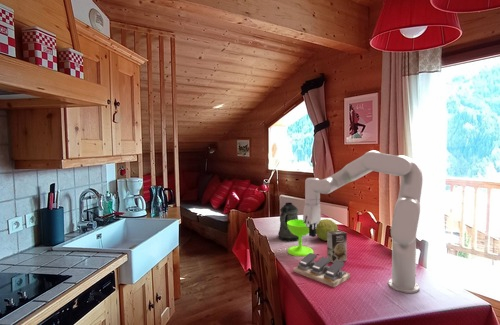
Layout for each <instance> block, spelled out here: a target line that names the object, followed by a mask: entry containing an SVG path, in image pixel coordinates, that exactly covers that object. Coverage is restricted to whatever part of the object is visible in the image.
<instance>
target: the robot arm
mask: <svg viewBox="0 0 500 325" xmlns="http://www.w3.org/2000/svg"><path fill="white" fill-rule="evenodd" d="M371 172H377V173H381V174H386V175H391V176H396V177H400V184H399V192H398V197H397V200H396V202H395V205H394V210H393V215H392V222H391V226H390V236H391V239H392V241H391V243H392V244H391V247H392V248H391V278H390V279H389V280H388V283H387V284H388V286H389V287H390V288H391V289H392V290H394V291H397V292H400V293H404V294H405V293H407V294H414V293H417V292H419V291H420V285H419V284H418V283H417V282H416V277H417V274H416V273H417V271H416V269H417V267H416V265H417V264H416V260H417V259H416V258H417V256H416V255H417V233H418V232H417V230H418V226H419V219H420V213H421V196H422V188H423V181H424V180H423V173H422V170H421V168H420V166H419V165H418V164H417V162H416V161H414V159H412V158H411V157H409V156H406V155H403V154H401V155H395V154H394V155H393V154H388V153H383V152H380V151H378V150H370V151H367V152H365V153H364V154H363V155H361V156H360V157H358V158H356V159H354V160H352V161H350V162H349V163H347V164H346V165H344V167H343V168H341V169H340V170H338V171H337V172H335V173H333V174H332V175H330V176H328V177H325V178H322V179H319V178H318V177H307V178H306V179H305V182H304V184H305V185H304V189H305V190H304V196H305V199H304V200H305V201H304V206H303V214H302V220H303V223H306V225H305V226H306V227H308V228H309V233H308V235H309V237H313V238H315V237H317V234H316V228H317V224H318V223H319V221H320V220H322V213H321V212H322V211H321V210H322V209H321V194H323V195H328V194H330V193H332V192H334V191H336V190H338V189H339V188H341V187H343V186H346V185H347V184H349V183H351V182H354V181H356V180H359V179H360V178H362V177H364V176H366V175H367V174H369V173H371Z"/></svg>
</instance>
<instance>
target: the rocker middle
mask: <svg viewBox="0 0 500 325" xmlns="http://www.w3.org/2000/svg"><path fill="white" fill-rule="evenodd" d="M315 262H316V263H315V264H314V265H313V266H312V267H311V268H312V269H313V270H316V271H319V272H320V271H321V270H322V269H323V268H324V267H325V266H326V265H327V266H328V265H329V263H330V262H331V261H330V259H328V258H327V257H325V256H322V257H320V258H319V259H318V260H317V261H315Z"/></svg>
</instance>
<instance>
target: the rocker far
mask: <svg viewBox="0 0 500 325" xmlns="http://www.w3.org/2000/svg"><path fill="white" fill-rule="evenodd" d="M317 258H318V254H315V253H309V254H308V255H307V256H303V258H302V259H301V260H300V261H299V262H298V265H302V266H305V267H307V266H308V265H309V264H310V263H311V262H312V261H315V260H316V259H317Z"/></svg>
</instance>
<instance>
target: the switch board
mask: <svg viewBox="0 0 500 325" xmlns="http://www.w3.org/2000/svg"><path fill="white" fill-rule="evenodd" d="M316 262H317V261H315V260H313V261H312V262H311V263H310V264H309V265H308V266H307V267H305V266H302V265H299V264H297V266H294V267H293V272H294V273H297V274H299V275H301V276H304V277H307V278H309V279H311V280H314V281H317V282H320V283H322V284H325V285H327V286H330V287H333V288H336V287H337V286H339V285H341V284H342V283H344V282H345V281H348V280H349V279H350V278H351V273H349V272H347V271H345V270H342V269H341V270H340V271H339V272H338V273H337V275H336V276H335V277H334V278H333V277H331V276H328V275H326V274H325V272H326V271H327V270H328V269H329V268H330V266H331V265H328V264H327V265H326V266H325V267H324V268H323V269H322V270H321V271H320V272H319V271H316V270H313V269H312V268H311V267H312V266H313V265H314V264H315V263H316Z"/></svg>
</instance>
